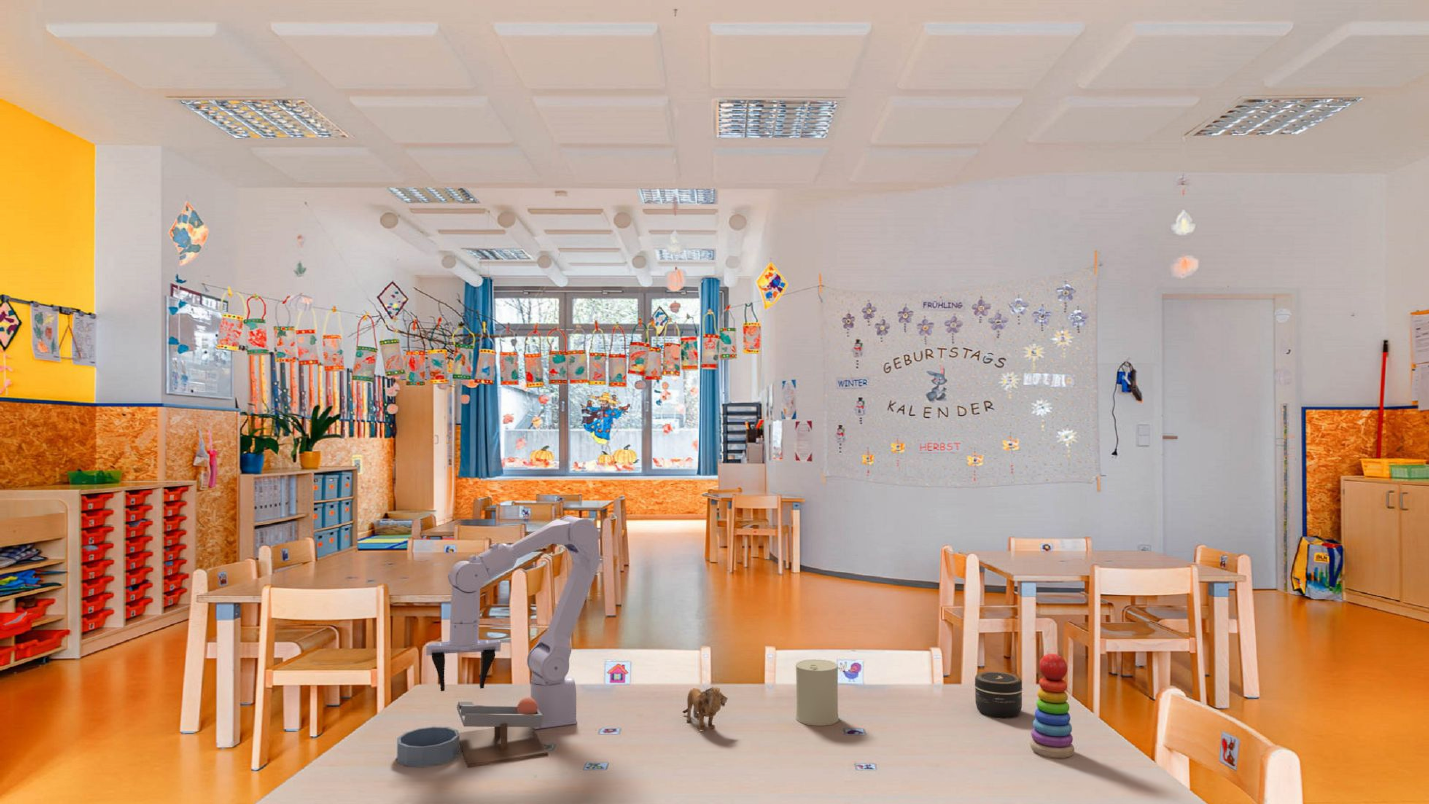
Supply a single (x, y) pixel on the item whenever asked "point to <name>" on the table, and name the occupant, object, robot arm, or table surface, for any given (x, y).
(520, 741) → the catapult base
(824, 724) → the can
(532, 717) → the lever
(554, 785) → the table surface
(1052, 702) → the stacking toy
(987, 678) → the jar
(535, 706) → the ball
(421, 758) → the bowl
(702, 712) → the lion figurine
